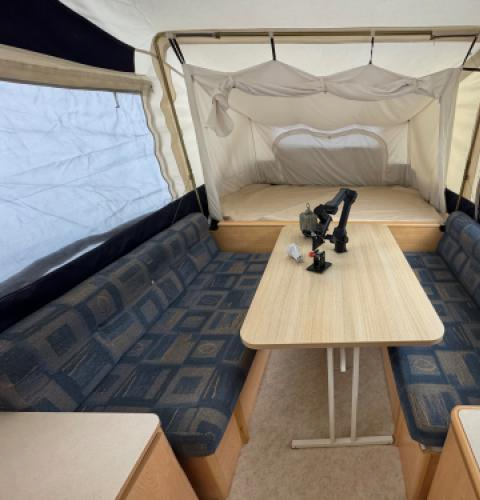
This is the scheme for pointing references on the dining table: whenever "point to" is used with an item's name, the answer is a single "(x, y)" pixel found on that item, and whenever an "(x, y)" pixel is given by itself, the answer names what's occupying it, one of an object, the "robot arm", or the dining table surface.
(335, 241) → the robot arm
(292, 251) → the spotlight
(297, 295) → the dining table surface
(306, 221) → the grey lantern
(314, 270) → the switch bracket
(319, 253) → the switch lever
